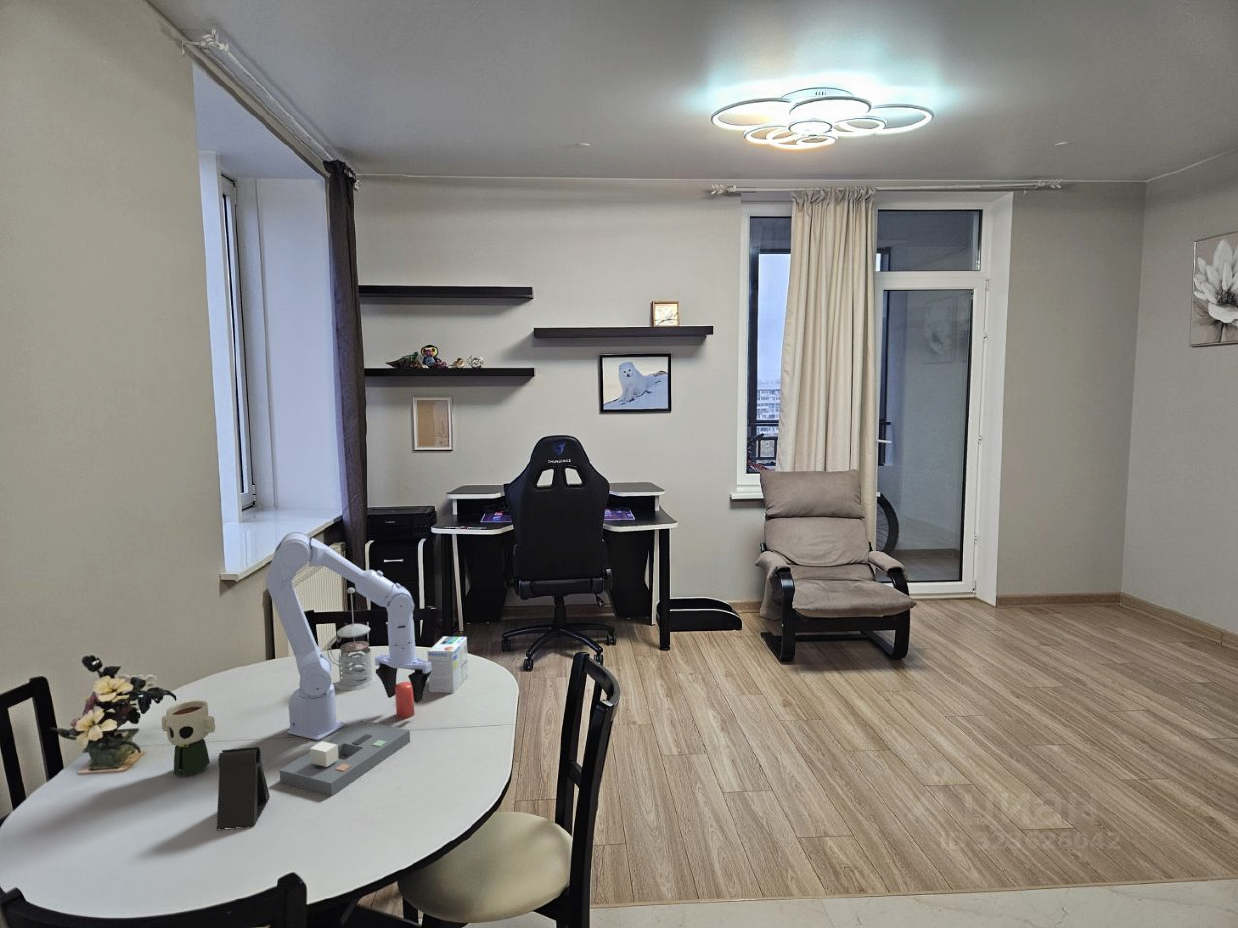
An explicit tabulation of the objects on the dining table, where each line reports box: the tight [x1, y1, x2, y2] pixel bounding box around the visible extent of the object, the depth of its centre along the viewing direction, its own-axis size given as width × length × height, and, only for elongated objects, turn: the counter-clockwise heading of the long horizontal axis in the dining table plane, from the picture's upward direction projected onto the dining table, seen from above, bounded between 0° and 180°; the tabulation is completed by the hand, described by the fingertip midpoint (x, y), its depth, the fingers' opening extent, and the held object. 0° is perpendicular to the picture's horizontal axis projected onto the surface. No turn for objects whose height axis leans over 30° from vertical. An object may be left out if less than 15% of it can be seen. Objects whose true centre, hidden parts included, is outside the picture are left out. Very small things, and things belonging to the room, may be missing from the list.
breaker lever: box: [309, 740, 338, 767], centre depth 139 cm, size 4×3×3 cm
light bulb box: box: [427, 636, 469, 694], centre depth 182 cm, size 11×7×11 cm, turn 172°
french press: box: [326, 587, 378, 691], centre depth 183 cm, size 10×12×25 cm
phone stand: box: [216, 746, 271, 830], centre depth 127 cm, size 9×6×12 cm, turn 10°
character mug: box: [161, 699, 216, 776], centre depth 142 cm, size 11×7×13 cm, turn 85°
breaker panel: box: [279, 720, 411, 797], centre depth 145 cm, size 13×22×3 cm, turn 157°
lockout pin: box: [394, 681, 416, 720], centre depth 165 cm, size 4×4×7 cm
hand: (405, 698), depth 165 cm, fingers open, 7 cm apart
